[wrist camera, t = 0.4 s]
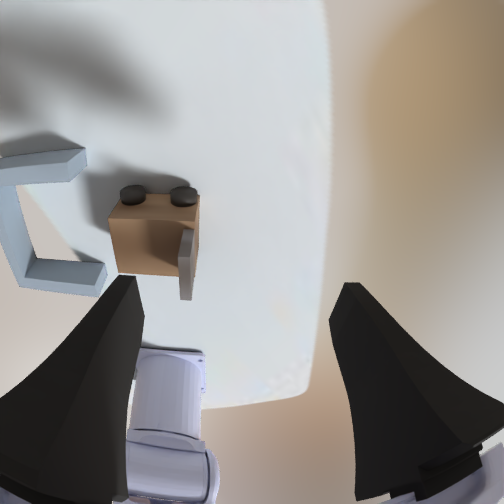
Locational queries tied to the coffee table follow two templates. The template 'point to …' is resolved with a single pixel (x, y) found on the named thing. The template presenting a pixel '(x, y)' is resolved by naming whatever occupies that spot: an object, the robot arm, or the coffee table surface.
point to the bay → (16, 235)
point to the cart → (157, 234)
